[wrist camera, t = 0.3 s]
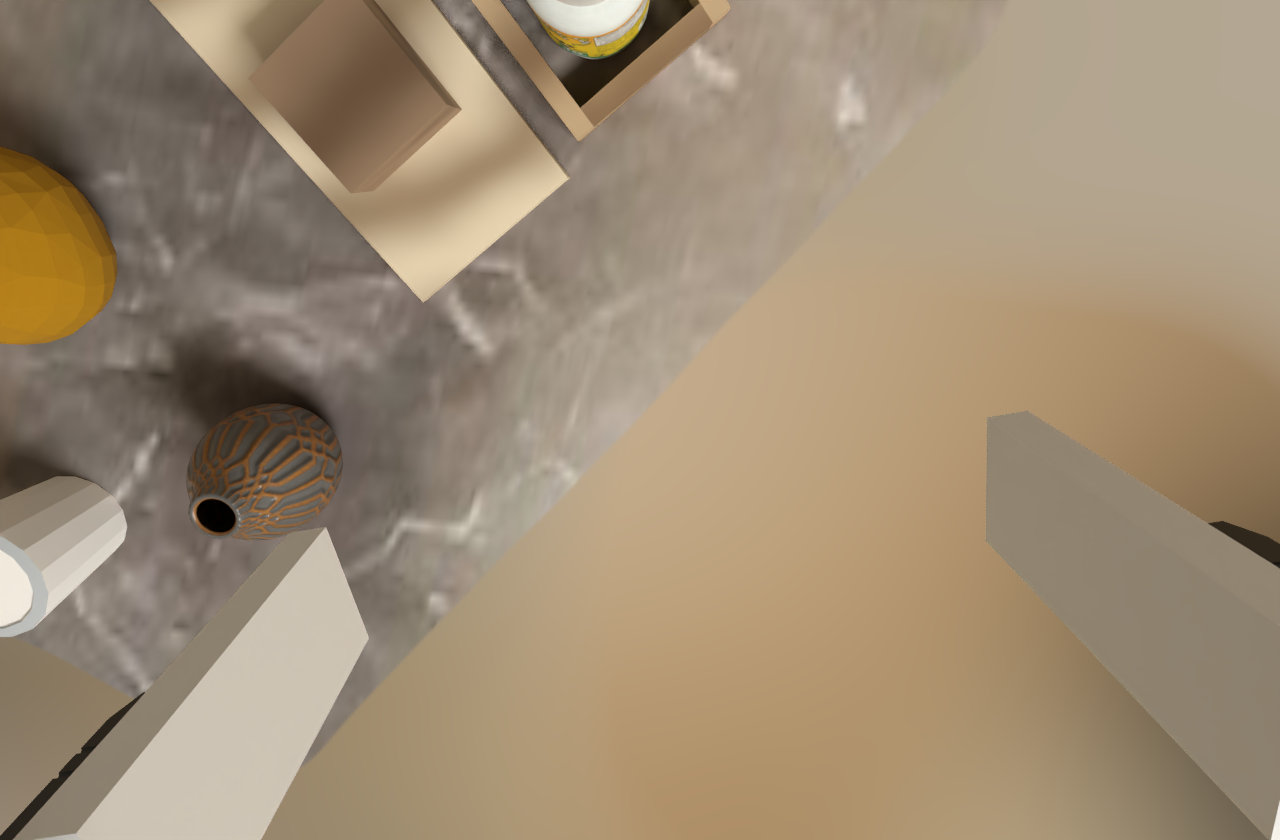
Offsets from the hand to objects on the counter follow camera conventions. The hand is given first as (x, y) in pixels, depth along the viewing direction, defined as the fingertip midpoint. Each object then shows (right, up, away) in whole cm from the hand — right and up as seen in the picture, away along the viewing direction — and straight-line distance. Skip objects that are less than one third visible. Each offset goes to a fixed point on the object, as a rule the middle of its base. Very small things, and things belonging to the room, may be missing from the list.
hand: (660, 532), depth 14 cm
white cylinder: (-35, -4, +28) cm, 45 cm away
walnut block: (-13, +18, +19) cm, 29 cm away
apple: (-30, +12, +22) cm, 39 cm away
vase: (-20, +1, +27) cm, 33 cm away
